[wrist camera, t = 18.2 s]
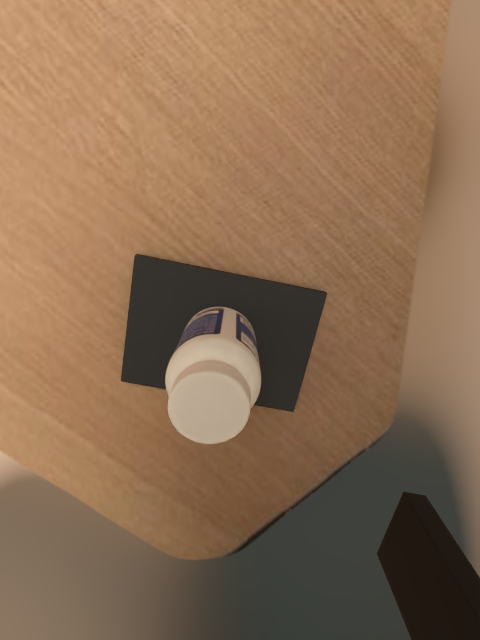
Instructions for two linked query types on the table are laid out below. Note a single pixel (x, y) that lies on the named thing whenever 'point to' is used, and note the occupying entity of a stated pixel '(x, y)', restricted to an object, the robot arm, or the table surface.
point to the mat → (219, 291)
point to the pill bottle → (213, 376)
